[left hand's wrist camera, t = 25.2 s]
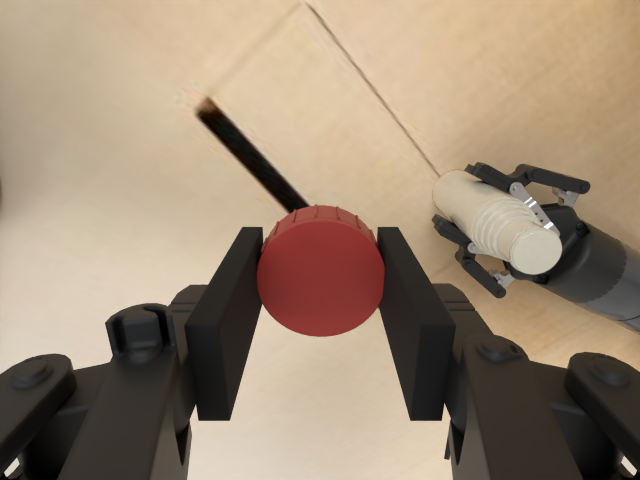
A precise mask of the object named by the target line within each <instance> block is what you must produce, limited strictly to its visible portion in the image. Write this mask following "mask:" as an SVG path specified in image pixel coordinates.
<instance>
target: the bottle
mask: <svg viewBox="0 0 640 480" xmlns="http://www.w3.org/2000/svg"><path fill="white" fill-rule="evenodd" d="M432 196H433V201H434V203H435V205H436V206H437V207H438V208H439V209H440V210H441V211H442V212H443V213H444V214H445V215H446V216H447V217H448V218H449V219H450V220H451V221H452V222H453V223H454V224H455V225H456V226H457V227H458V228H459V229H460V230H461V231H462V232H463V233H464V234H465V235H466V236H467V237H468V238H469V239H470V240H471V241H472V242H473V243H474V244H475V245H476V246H477V247H478V248H479V249H480V250H482V251H484V252H485V253H487V254H488V255H491V256H494V257H496V258H499V259H502V260H505V261H507V262H510V263H511V265H512V266H513V267H514V268H515V269H516V270H518V271H521V272H523V273H526V274H540V273H543V272H546V271H548V270H549V269H551V268H552V267H553V266H554V265H555V264H556V263H557V262H558V260H559V258H560V256H561V253H562V244H561V241H560V239H559V237H558V235H557V234H556V233H555V232H554V231H552V230H550V229H547V228H544V227H543V225H542V224H541V222H540V221H539V220H538V218H537V217H536V215H535V214H534V213H533V211H532V210H531V209H530V208H529V207H528V206H527V205H526V204H525V203H524V202H522V201H521V200H519V199H517V198H515V197H513V196H511V195H509V194H507V193H505V192H503V191H502V190H500V189H498V188H496V187H494V186H492V185H490V184H488V183H486V182H484V181H482V180H481V179H479V178H477V177H475V176H473V175H471V174H469V173H467V172H465V171H462V170H453V171H450V172H447V173H445V174H443V175H442V176H441V177H440V178H439V179H438V180H437V182H436V183H435V185H434V188H433V192H432Z"/></svg>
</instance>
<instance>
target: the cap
mask: <svg viewBox="0 0 640 480" xmlns="http://www.w3.org/2000/svg"><path fill="white" fill-rule="evenodd" d="M261 253H262V255H261V257H260V260H259V263H258V267H257V271H256V280H257V290H258V294H259V297H260V299H261V302H262V303H263V305H264V307H265V309H266V310H267V311H268V313H269V314H270V315H271V316H272V317H273V318H274V319H275V320H276V321H277V322H279V323H280V324H281V325H283V326H285V327H286V328H288V329H290V330H292V331H294V332H297V333H300V334H304V335H308V336H317V337H326V336H334V335H338V334H342V333H345V332H348V331H350V330H352V329H354V328H356V327H358V326H359V325H361V324H362V323H363V322H365V321H366V320H367V319H368V318H369V317H370V316H371V315H372V314H373V313H374V311H375V310H376V309H377V307H378V306H379V304H380V302H381V300H382V297H383V285H384V270H385V266H384V262H383V259H382V257H381V254H380V251H379V249H378V246H377V242H376V240H375V237H374V234H373V232H372V230H369V228H368V227H367V226H366V225H365V224H364V223H363V222H362V221H361V220H360V219H359V218H358V216H357V215H356V216H355V215H353V214H351V213H350V212H348V211H345V210H343V209H340V208H339V207H332V206H317V205H315V206H310V207H306V208H302V209H299V210H297V211H296V210H294V212H292V213H291V214H289V215H287V216H286V217H285V218H283V219H282V220H281V221H280V222H279V221H278V222H277V223H276V226H275V227H274V228H273V230H272V231H271V233H270V235H269V237H268V238H267V237H266V239H265V242H264V244H263V247H262V250H261Z"/></svg>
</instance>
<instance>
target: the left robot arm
mask: <svg viewBox="0 0 640 480" xmlns="http://www.w3.org/2000/svg"><path fill="white" fill-rule="evenodd" d="M377 246H378V249H379V251H380V254H381V257H382V259H383V262H384V266H385V270H384V285H383V297H382V300H381V302H380V304H379V309H380V313H381V317H382V320H383V324H384V327H385V331H386V334H387V338H388V342H389V345H390V349H391V352H392V356H393V360H394V363H395V367H396V370H397V374H398V378H399V381H400V385H401V388H402V392H403V395H404V399H405V403H406V406H407V410H408V413H409V417H410V421H442V415H443V408H444V402H445V405H446V407H447V410H448V412H449V415H450V417H451V420H450V426H449V432H448V438H447V444H446V450H445V457H444V459H447V460H449V458H450V456H451V465H452V474H453V480H640V372H639V371H637V370H636V369H634V368H633V367H631V366H630V365H629V364H627V363H624V362H622V361H620V360H618V359H616V358H614V357H611V356H608V355H607V356H606V355H605V354H600V353H591V352H583V353H576V354H575V355H573V356H572V357H571V358H570V361H569V364H568V367H567V369H566V368H561V367H556V366H552V365H547V364H542V363H537V362H534V361H530V360H529V358H528V356H527V354H526V353H525V352H524V350H523V349H522V348H521V347H520V346H518V345H517V344H515V343H514V342H513V341H511V340H508V339H506V338H504V337H501V336H497V335H494V334H493V333H492V331H491V330H490V329H489V327H488V326H487V325H486V323H485V322H484V320H483V319H482V318H481V316H480V315H479V314H478V312H477V311H475V308H474V307H473V305H472V304H471V303H469V300H468V299H467V297H466V296H465V294H464V293H463V292H462V291H461V290H459V289H457V288H456V287H454V286H453V285H451V284H431V282H430V280H429V279H428V277H427V275H426V274H425V272H424V270H423V269H422V267H421V265H420V264H419V262H418V260H417V259H416V257H415V255H414V254H413V252H412V250H411V249H410V247H409V245H408V243H407V242H406V240H405V238H404V237H403V235H402V233H401V232H400V230H399V228H398V227H378V234H377ZM262 247H263V229H262V227H242V229H241V230H240V232H239V234H238V236H237V237H236V239H235V241H234V242H233V244H232V246H231V247H230V249H229V251H228V252H227V254H226V256H225V257H224V259H223V261H222V262H221V264H220V266H219V267H218V269H217V271H216V272H215V274H214V276H213V278H212V279H211V281H210V283H209V284H208V285H189V286H188V287H186V288H185V289H183V290H182V291H180V292H179V293H178V294H177V295H176V296H175V298H174V299H173V300H172V302H171V304H170V305H169V306H168V307H167V306H166V305H162V304H158V303H145V304H140V305H135V306H131V307H129V308H126V309H123V310H121V311H119V312H117V313H116V314H114V315H112V316H111V317H110V318H109V319H108V320H107V321H106V323H105V325H106V329H107V333H108V337H109V341H110V346H111V350H112V354H113V357H112V359H111V361H110V362H109V363H105V364H101V365H97V366H92V367H87V368H82V369H77V370H73V366H72V363H71V360H70V359H69V358H68V357H67V356H65V355H61V354H47V355H39V356H35V357H32V358H29V359H26V360H24V361H22V362H20V363H18V364H16V365H14V366H12V367H11V368H9V369H8V370H6V371H5V372H3V373H2V374H0V480H187V475H188V466H189V457H190V448H191V439H192V433H191V426H190V417H191V415H192V412H193V410H194V407H195V405H196V407H197V413H198V420H199V421H230V418H231V414H232V411H233V407H234V404H235V400H236V396H237V393H238V389H239V386H240V382H241V378H242V375H243V371H244V368H245V364H246V360H247V357H248V353H249V350H250V346H251V343H252V339H253V335H254V332H255V328H256V325H257V321H258V317H259V314H260V310H261V307H262V302H261V299H260V297H259V294H258V290H257V280H256V271H257V267H258V263H259V260H260V257H261V255H262V253H261V250H262ZM624 456H625V457H626V458H627V459H628V460H629V461H630V463H631V464H632V465H633V466H634V467H635V468H636V470H637V472H636V474H635V475H634V476H633V475H632V474H631V473H630V472H629V471H628V470H627V469H626V468H625V467H624V465H623V464H622V463H621V462H622V459H623V457H624ZM16 458H18V461H19V463H20V464H19V466H18V467H17V468H16V469H15V470H14V472H12V473H11V474H10V475H9V476H8V477H6V476H5V474H4V472H5V470H6V469H7V468H8V467H9V466H10V465H11V463H12V462H13V461H14V460H15V459H16Z"/></svg>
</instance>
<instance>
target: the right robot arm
mask: <svg viewBox="0 0 640 480" xmlns="http://www.w3.org/2000/svg"><path fill="white" fill-rule="evenodd" d="M464 171H466V172H468V173H470V174H472V175H473V176H475V177H477V178H479V179H481V180H482V181H484V182H486V183H488V184H490V185H492V186H494V187H496V188H498V189H500V190H502V191H503V192H505V193H507V194H509V195H511V196H513V197H515V198H517V199H519V200H521V201H522V202H524V203H525V204H526V205H527V206H528V207H529V208H530V209H531V210H532V211H533V213H534V214H535V215H536V217H537V218H538V220H539V221H540V222H541V224H542V225H543V227H544V228H547V229H550V230H552V231H554V232H555V233H556V234H557V235H558V237H559V239H560V241H561V244H562V253H561V256H560V258H559V260H558V262H557V263H556V264H555V265H554V266H553V267H552V268H551V269H549V270H548V271H546V272H543V273H540V274H526V273H523V272H521V271H518V270H516V269H515V268H514V267H513V266H512V265H511V263H510V262H507V261H505V260H503V263H504V266H505V268H506V270H505V271H504V272H499V271H497V270H489V271H488V272H487V271H486V270H485V269H484V268H483V267H482V266H481V265H479V264H478V263H477V262H476V261H475V260H474V259H475V256H476V254H484V255H488V254H487V253H485V252H484V251H482V250H480V249H479V248H478V247H477V246H476V245H475V244H474V243H473V242H472V241H471V240H470V239H469V238H468V237H467V236H466V235H465V234H464V233H463V232H462V231H461V230H460V229H459V228H458V227H457V226H456V225H455V224H454V223H452V222H450V221H448V220H446V219H444V218H443V217H441V216H439V215H437V214H435V215H434V217H433V219H432V221H433V222H434V224H435V226H434V228H435V229H436V230H437V231H438V233H439V234H440V235H441V236H443V237H445V238H447V239H449V240H451V241H453V242H454V243H456V244H458V245H459V251H457V252H456V254H455V258H456V260H457V261H458V262H459V263H460V264H461V266H462V267H463V268H464V269H465V270H466V271H467V272H468V273H469V274H470V275H471V276H472V277H474V278H475V279H476V280H477V281H478V282H479V283H480V284H481V285H483V286H484V287H485V288H486V289H487V290H488V291H489V292H490V293H492V294H493V295H494V296H495V297H496V298H502V297H504V296H505V295H506V290H505V288H506V287H507V286H508V285H509V284H510V283H512V282H513V281H514V280H515V279H518V280H529V281H532V282H534V283H536V284H538V285H540V286H542V287H543V288H545V289H547V290H549V291H551V292H553V293H555V294H557V295H559V296H561V297H563V298H565V299H566V300H568V301H570V302H572V303H574V304H576V305H578V306H580V307H582V308H584V309H586V310H588V311H590V312H593V313H596V314H598V315H601V316H604V317H606V318H608V319H610V320H612V321H614V322H616V323H618V324H619V325H621V326H623V327H625V328H627V329H629V330H631V331H633V332H635V333H637V334H639V335H640V253H639V252H637V251H636V250H634V249H632V248H631V247H629V246H627V245H625V244H623V243H622V242H621V241H619V240H617V239H615V238H613V237H611V236H609V235H608V234H606V233H604V232H602V231H600V230H599V229H597V228H595V227H593V226H592V225H590V224H588V223H586V222H585V221H583V220H581V219H579V218H578V216H577V215H576V212H575V210H574V209H573V208H572V207H573V205H574V203H575V201H576V199H577V197H578V195H579V194H585V193H587V192H588V191H589V189H590V183H589V182H587V181H584V180H581V179H578V178H574V177H571V176H568V175H564V174H560V173H556V172H552V171H549V170H545V169H541V168H537V167H534V166H530V165H526V164H520V165H519V166H517V168H516V171H514V172H513V173H512V174H510V175H505V174H503V173H501V172H499V171H498V170H496V169H494V168H492V167H491V166H489V165H487V164H484V163H479V162H477V163H476V164H475V166H472V165H470V164H468V166H467V167H466V169H465V170H464ZM532 181H533V182H536V183H540V184H544V185H548V186H552V192H553V194H554V195H556V196H557V197H558V198H559V202H558V203H552V204H545V205H539V204H538V203H537V202H536V201H535V200H534V199H533V198H532V197H531V196H530V195H529V193H528V192H527V190H526V189H525V188H524V187H525V186H526V185H528V184H529V183H530V182H532ZM490 256H491V255H490ZM492 257H494V256H492ZM495 258H496V257H495Z"/></svg>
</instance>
